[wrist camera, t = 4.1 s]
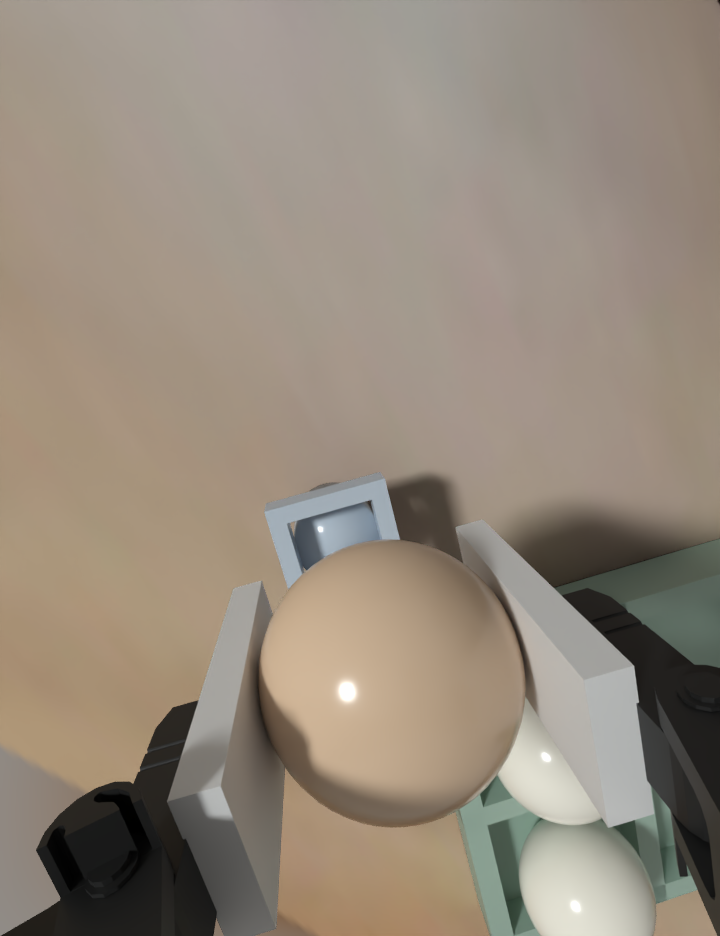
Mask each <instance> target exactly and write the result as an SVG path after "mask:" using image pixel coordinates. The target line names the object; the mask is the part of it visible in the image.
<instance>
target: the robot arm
mask: <svg viewBox="0 0 720 936" xmlns="http://www.w3.org/2000/svg"><path fill="white" fill-rule="evenodd" d="M456 532H457V537H458V541H459V546H460V550H461V555H462V559H463V564H465V565H467V566H468V567H469V568H470V569H471V570H472V571H474V572H475V573H476V574H477V575H478V576H479V577H480V578H481V579H482V580H483V581H484V582H485V583H486V584H487V585H488V586H489V588H490V589H491V590H492V591H493V592H494V593H495V595H496V596H497V598H498V599H499V601H500V602H501V604H502V606H503V607H504V609H505V610H506V612H507V614H508V615H509V618H510V620H511V622H512V624H513V627H514V629H515V632H516V634H517V637H518V640H519V644H520V647H521V651H522V655H523V663H524V671H525V679H526V689H525V696H526V698H527V700H528V701H529V703H530V704H531V706H532V708H533V709H534V711H535V712H536V714H537V716H538V717H539V719H540V720H541V722H542V723H543V725H544V727H545V728H546V730H547V731H548V733H549V735H550V736H551V738H552V739H553V741H554V743H555V744H556V746H557V747H558V749H559V750H560V752H561V754H562V755H563V757H564V758H565V760H566V762H567V763H568V765H569V766H570V768H571V770H572V771H573V773H574V774H575V776H576V777H577V779H578V781H579V782H580V784H581V785H582V787H583V789H584V790H585V792H586V793H587V795H588V797H589V798H590V800H591V801H592V803H593V804H594V806H595V808H596V809H597V811H598V812H599V814H600V816H601V817H602V819H603V820H604V822H605V824H606V825H607V827H608V828H610V827H613V826H617V825H620V824H623V823H626V822H630V821H633V820H636V819H640V818H643V817H646V816H650V815H653V814H654V808H653V801H652V793H651V786H652V787H653V789H654V790H655V791H656V792H657V794H658V795H659V796H660V798H661V799H662V800H663V801H664V803H665V804H666V805H667V806H668V808H669V809H670V813H671V821H672V829H673V836H674V844H675V852H676V860H677V865H678V870H679V875H680V877H688V872H687V867H688V869H689V871H690V873H691V876H692V878H693V880H694V883H695V885H696V887H697V890H698V892H699V894H700V896H701V899H702V901H703V903H704V906H705V908H706V910H707V913H708V915H709V917H710V919H711V922H712V924H713V926H714V929H715V931H716V933H717V936H720V668H718V667H714V666H709V665H694V664H693V663H692V662H691V661H690V660H688V659H687V658H686V657H685V656H683V655H682V654H681V653H680V652H678V651H677V650H676V649H675V648H673V647H672V646H671V645H670V644H669V643H667V642H666V641H665V640H664V639H662V638H661V637H660V636H659V635H657V634H656V633H655V632H654V631H653V630H651V629H650V628H649V627H648V626H646V625H645V624H642V623H641V621H640V620H639V619H638V618H636V617H635V616H634V615H633V614H632V613H628V611H627V609H625V608H624V607H623V606H622V605H620V604H619V603H618V602H617V601H616V600H614V599H613V598H612V597H610V596H608V595H605V594H602V593H600V592H597V591H594V590H592V589H589V588H585V589H582V590H578V591H575V592H571V593H568V594H564V595H560V594H559V593H558V592H557V591H556V590H555V589H554V588H553V587H552V586H551V585H550V584H549V583H548V582H547V581H546V580H545V579H544V578H543V577H542V576H541V575H540V574H539V573H537V572H536V571H535V570H534V569H533V568H532V567H531V566H530V565H529V564H528V563H527V562H526V561H525V560H524V559H523V558H522V557H521V556H520V555H519V554H518V553H517V552H516V551H515V550H514V549H513V548H512V547H511V546H510V545H508V544H507V543H506V542H505V541H504V540H503V539H502V538H501V537H500V536H499V535H498V534H497V533H496V532H495V531H494V530H493V529H492V528H491V527H490V526H489V525H488V524H487V523H486V522H485V521H484V520H483V519H482V520H479V521H475V522H472V523H468V524H464V525H461V526H457V527H456ZM272 616H273V613H272V610H271V607H270V604H269V601H268V598H267V595H266V592H265V589H264V586H263V583H262V581H258V582H255V583H251V584H247V585H244V586H240V587H236V588H234V589H233V592H232V595H231V598H230V602H229V605H228V608H227V611H226V614H225V618H224V621H223V624H222V627H221V630H220V634H219V637H218V640H217V643H216V646H215V650H214V653H213V656H212V659H211V662H210V666H209V669H208V672H207V675H206V678H205V682H204V685H203V688H202V691H201V694H200V698H199V700H198V701H194V702H191V703H187V704H184V705H180V706H177V707H173V708H172V709H171V711H170V712H169V713H168V714H167V715H166V717H165V718H164V719H163V720H162V721H161V723H160V724H159V725H158V726H157V728H156V729H155V732H154V734H153V737H152V739H151V742H150V744H149V747H148V749H147V751H148V753H147V754H145V756H144V759H143V761H142V764H141V766H140V772H138V774H137V776H136V779H135V781H134V784H132V783H131V782H113V783H110V784H107V785H104V786H101V787H98V788H96V789H94V790H92V791H91V792H89V793H87V794H85V795H84V796H82V797H80V798H79V799H77V800H76V801H75V802H74V803H72V804H71V805H70V806H69V807H68V808H66V809H65V811H63V812H62V813H61V814H60V815H59V816H58V817H57V818H56V819H55V820H54V822H53V823H52V824H51V825H50V826H49V828H48V829H47V830H46V831H45V833H44V835H43V837H42V839H41V841H40V843H39V845H38V847H37V849H36V851H37V853H38V855H39V857H40V859H41V861H42V862H43V865H44V866H45V868H46V870H47V872H48V874H49V876H50V878H51V880H52V882H53V884H54V886H55V888H56V890H57V892H58V893H59V895H60V897H61V899H60V901H58V902H57V903H56V904H54V905H52V906H51V907H50V908H48V909H46V910H45V911H43V912H41V913H40V914H38V915H36V916H34V917H32V918H31V919H29V920H27V921H26V922H24V923H22V924H21V925H19V926H17V927H15V928H14V929H12V930H10V931H8V932H7V933H5V934H3V935H2V936H213V934H214V928H215V922H216V918H217V921H218V923H219V925H220V928H221V930H222V932H223V934H224V936H255V935H258V934H261V933H265V932H268V931H271V930H274V929H276V924H277V906H278V888H279V869H280V851H281V832H282V814H283V796H284V777H285V766H284V765H283V763H282V762H281V760H280V759H279V757H278V755H277V754H276V752H275V749H274V747H273V745H272V743H271V740H270V738H269V735H268V733H267V731H266V728H265V724H264V720H263V717H262V712H261V706H260V699H259V691H258V677H259V659H260V654H261V649H262V644H263V640H264V637H265V634H266V631H267V628H268V625H269V622H270V620H271V618H272ZM650 785H651V786H650Z"/></svg>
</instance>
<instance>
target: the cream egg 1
mask: <svg viewBox="0 0 720 936" xmlns="http://www.w3.org/2000/svg"><path fill="white" fill-rule="evenodd" d="M497 775H498V777H499V779H500V781H501V782H502V784H503V785H504V787H505V788H506V790H507V791H508V792H509V793H510V795H511V796H512V797H513V798H514V799H515V800H516V801H517V802H518V803H520V804H521V805H522V806H523V807H524V808H526V809H527V810H528V811H530V812H531V813H533V814H535V815H537V816H538V817H540V818H543V819H545V820H548V821H550V822H554V823H558V824H563V825H582V824H588V823H592V822H595V821H597V820H600V819H602V817H601V816H600V814H599V812H598V811H597V809H596V808H595V806H594V804H593V803H592V801H591V800H590V798H589V797H588V795H587V793H586V792H585V790H584V789H583V787H582V785H581V784H580V782H579V781H578V779H577V777H576V776H575V774H574V773H573V771H572V770H571V768H570V766H569V765H568V763H567V762H566V760H565V758H564V757H563V755H562V754H561V752H560V750H559V749H558V747H557V746H556V744H555V743H554V741H553V739H552V738H551V736H550V735H549V733H548V731H547V730H546V728H545V727H544V725H543V723H542V722H541V720H540V719H539V717H538V716H537V714H536V712H535V711H534V709H533V708H532V706H531V704H530V703H529V701H528V700H527V698H526V696H525V705H524V712H523V718H522V722H521V726H520V729H519V732H518V735H517V738H516V741H515V744H514V746H513V749H512V751H511V753H510V755H509V757H508V759H507V760H506V762H505V764H504V765H503V767H502V768H501V770H500V771H499V773H498V774H497Z"/></svg>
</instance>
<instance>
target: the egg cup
mask: <svg viewBox="0 0 720 936" xmlns="http://www.w3.org/2000/svg"><path fill="white" fill-rule="evenodd" d="M369 500H370V502H371V506H372V509H373V511H372V509H371V507H370V505H369V503H368V501H369ZM264 513H265V516H266V519H267V522H268V525H269V529H270V532H271V535H272V538H273V541H274V545H275V548H276V551H277V554H278V557H279V561H280V564H281V567H282V570H283V573H284V577H285V580H286V583H287V586H288V589H289V588H290V587H291V586H292V585H293V583H294V582H295V581H296V580H297V579H298V578H299V577H300V576H301V575H302V574H303V573H304V569H303V567H304V568H305V569H306V570H308V569H309V568H310V567H312V566H313V565H314V564H315V563H317V562H318V561H320V560H321V559H323V558H324V557H326V556H327V555H329V554H331V553H333V552H335V551H337V550H340V549H342V548H344V547H347V546H350V545H353V544H356V543H361V542H366V541H370V540H382V539H393V540H400V538H399V534H398V530H397V526H396V522H395V518H394V514H393V510H392V506H391V502H390V498H389V494H388V490H387V486H386V482H385V478H384V477H383V475H382V474H381V473H380V472H379V473H375V474H371V475H368V476H364V477H361V478H357V479H353V480H350V481H346V482H342V483H326V484H322V485H319V486H317V487H315V488H313V489H312V490H310V491H309V492H306V493H303V494H299V495H295V496H292V497H288V498H285V499H281V500H277V501H274V502H270V503H267V504H266V506H265V511H264ZM373 513H374V514H373ZM294 521H295V529H294V536H293V532H292V529H291V526H290V522H294Z"/></svg>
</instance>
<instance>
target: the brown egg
mask: <svg viewBox="0 0 720 936" xmlns="http://www.w3.org/2000/svg"><path fill="white" fill-rule="evenodd" d="M525 689H526V679H525V671H524V663H523V655H522V651H521V647H520V644H519V640H518V637H517V634H516V632H515V629H514V627H513V624H512V622H511V620H510V618H509V615H508V614H507V612H506V610H505V609H504V607H503V606H502V604H501V602H500V601H499V599H498V598H497V596H496V595H495V593H494V592H493V591H492V590H491V589H490V588H489V586H488V585H487V584H486V583H485V582H484V581H483V580H482V579H481V578H480V577H479V576H478V575H477V574H476V573H475V572H474V571H472V570H471V569H470V568H469V567H468V566H467V565H465V564H463V563H462V562H460V561H459V560H457V559H456V558H454V557H452V556H451V555H449V554H447V553H445V552H443V551H441V550H438V549H436V548H434V547H431V546H428V545H424V544H421V543H416V542H411V541H405V540H393V539H382V540H370V541H366V542H361V543H356V544H353V545H350V546H347V547H344V548H342V549H340V550H337V551H335V552H333V553H331V554H329V555H327V556H326V557H324V558H323V559H321V560H320V561H318V562H317V563H315V564H314V565H313V566H312V567H310V568H309V569H308V570H307V571H306V572H304V573H303V574H302V575H301V576H300V577H299V578H298V579H297V580H296V581H295V582H294V583H293V585H292V586H291V587H290V588H289V589H288V591H287V592H286V594H285V595H284V597H283V598H282V599H281V601H280V603H279V604H278V606H277V608H276V610H275V612H274V614H273V616H272V618H271V620H270V622H269V625H268V628H267V631H266V634H265V637H264V640H263V644H262V649H261V654H260V659H259V677H258V691H259V699H260V706H261V712H262V717H263V720H264V724H265V728H266V731H267V733H268V735H269V738H270V740H271V743H272V745H273V747H274V749H275V752H276V754H277V755H278V757H279V759H280V760H281V762H282V763H283V765H284V766H285V768H286V769H287V771H288V772H289V774H290V775H291V776H292V777H293V779H294V780H295V781H296V782H297V783H298V784H299V785H300V787H302V788H303V789H304V790H305V791H306V792H307V793H308V794H310V795H311V796H312V797H313V798H314V799H315V800H317V801H318V802H319V803H320V804H322V805H323V806H325V807H327V808H328V809H330V810H331V811H333V812H335V813H338V814H340V815H342V816H344V817H346V818H349V819H351V820H354V821H357V822H360V823H363V824H367V825H372V826H378V827H408V826H416V825H421V824H425V823H429V822H432V821H435V820H438V819H441V818H443V817H445V816H447V815H450V814H452V813H454V812H456V811H457V810H459V809H461V808H462V807H464V806H465V805H467V804H468V803H470V802H471V801H472V800H474V799H475V798H476V797H477V796H479V795H480V794H481V793H482V792H483V791H484V790H485V789H486V788H487V787H488V786H489V784H490V783H491V782H492V781H493V779H494V778H495V777H496V776H497V774H498V773H499V771H500V770H501V768H502V767H503V765H504V764H505V762H506V760H507V759H508V757H509V755H510V753H511V751H512V749H513V746H514V744H515V741H516V738H517V735H518V732H519V729H520V726H521V722H522V718H523V712H524V705H525Z"/></svg>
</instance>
